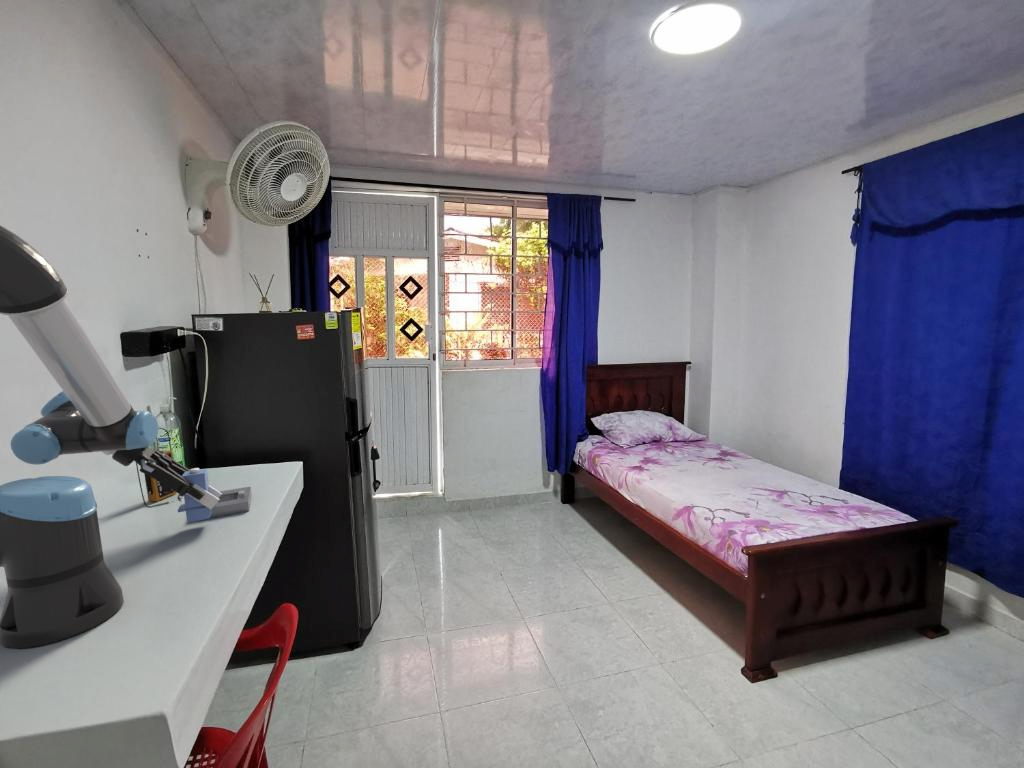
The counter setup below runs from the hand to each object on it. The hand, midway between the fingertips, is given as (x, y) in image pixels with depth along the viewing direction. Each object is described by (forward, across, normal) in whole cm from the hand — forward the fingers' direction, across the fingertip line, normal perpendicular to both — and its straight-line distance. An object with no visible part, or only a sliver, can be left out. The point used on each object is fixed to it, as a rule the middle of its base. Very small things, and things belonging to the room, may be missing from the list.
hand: (216, 501), depth 120 cm
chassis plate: (+4, -13, -4) cm, 14 cm away
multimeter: (-6, -30, -14) cm, 33 cm away
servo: (0, 0, -5) cm, 5 cm away
